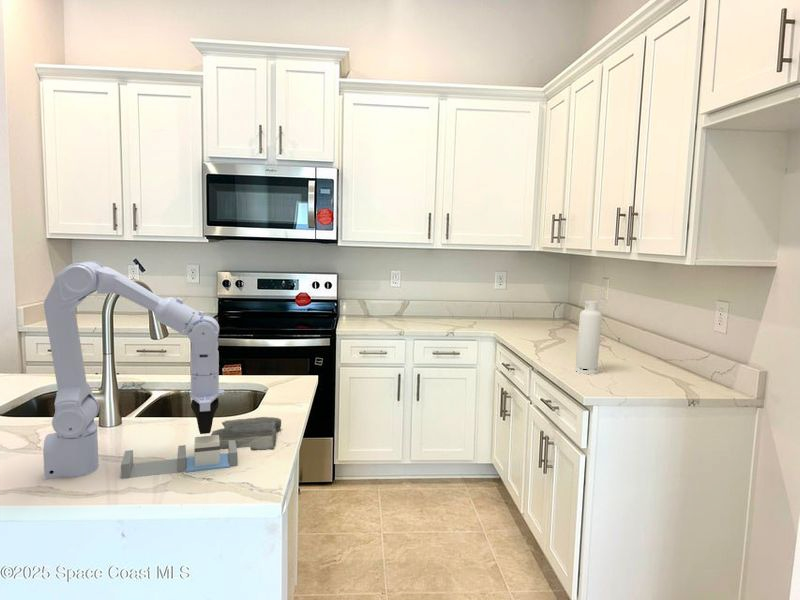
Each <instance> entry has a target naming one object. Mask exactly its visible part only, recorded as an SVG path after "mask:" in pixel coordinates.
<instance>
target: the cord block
mask: <svg viewBox="0 0 800 600" xmlns="http://www.w3.org/2000/svg"><path fill="white" fill-rule="evenodd" d="M220 450H221V448H220V441H219V435H213V436H211V435H205V436H202V435H201V436H194V457H195V466H204V465H213V464H220V454H221V451H220Z"/></svg>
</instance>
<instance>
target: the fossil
mask: <svg viewBox="0 0 800 600" xmlns="http://www.w3.org/2000/svg"><path fill="white" fill-rule="evenodd" d="M221 424H222V426H223V427H224V428H220V429H216V430H213V431H212V433H210V436H213V435H219V441H220V449H228V441H232V440H235V442H236V448H250V451H267V450H266V449H270V450H274V449H275V447H276V443H277V442H276V441H277V433H278V432H280V431H281V428H282V419H281V418H279V417H271V416H270V417H269V416H260V417H258V416H257V417H254V418H253V417H251V418H250V417H249V418H237V419H230V420H224V421H222V422H221Z"/></svg>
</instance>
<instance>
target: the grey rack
mask: <svg viewBox="0 0 800 600" xmlns="http://www.w3.org/2000/svg"><path fill="white" fill-rule="evenodd" d="M186 448H187V445H186V444H183V445H182V444H181V445H178V448H177V458H172V459H163V460H153V461H144V462H143V461H142V462H134V449H133V450H132V449H131V450H130V449H129V450H125V451H124V454H123V456H122V460H121V462H120V463H121V464H120V474H121V475H120V479H122V480H123V479H124V480H125V479H133V478H140V477H141V478H142V477H150V476H159V475H169V474H175V473H176V474H177V473H196V472H202V471H203V472H204V471H211V470H221V469H230V468H231V467H238V449H237V448H236V442H235V440H232V441H228V448H227V450H228V453H226V452H225V453H220V464H213V465H204V466H195V456H188V457H187V451H186V450H187V449H186Z"/></svg>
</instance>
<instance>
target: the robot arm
mask: <svg viewBox="0 0 800 600" xmlns="http://www.w3.org/2000/svg"><path fill="white" fill-rule="evenodd" d="M95 292H96V295H97V294H98V295H100V294H101V295H105V294H107V295H109V294H116V295H119V296H120V297H123V298H125V300H129V301H130V302H133V303H134V304H136V305H138V306H140V307H143V308H145V309H146V310H149V311H151V312H152V313H153V314H154V318H155V320H156V321H157V322H159V323H160V324H162V325H163V326H166V327H168V328H169V329H172V330H174V332H177V333H179V334H181V335H183V336H188V339H189V341H190V342H191V350H190V392H189V397H190V398H191V399H192V400H191V401H190V408H191V410H192V412H193V414H194V415H195V418H196V421H197V422H196V423H197V428H198V431H199V434H200V435H209V434H211V431H212V427H213V422H214V417H215V413H216V411H217V409H218V408H219V405H220V404H219V397H220V396H224V395H225V390H224V389H220V388H219V387H220V386H219V385H220V384H219V383H220V379H219V378H220V375H219V374H220V370H219V369H220V364H219V362H220V355H219V354H220V353H219V350H218V349H219V342H218V339H219V335H220V325H219V323H218V321H217V320H216V319H215V317H213V316H212V315H211V314H205V312H204V311H202V310H196V309H194V308H192V307H190V306H189V305H187V304H186V303H184V299H182V298H181V297H177V298H174V297H173V296H170V297H166V298H162V297H160V296H159V295H157V294H155V293H153V292H152V291H150V290H149V289H147V288H145V287H144V286H142V285H141V284H139V283H137V282H135V281H133V280H132V279H130V278H129V277H128V276H126V275H124V274H122V273H121V272H118V271H117V270H115V269H113V268H111V267H108V266H104V265H102V263H100V262H99V261H94V260H84V261H81V262H78V263H71V264H69V265H67V266H65V267H64V268H63V269H62V270H61V271H59V272H58V273H57V274H56V275H54V280H53V283H52V285H51V287H50V289H49V291H48V293H47V295H46V297H45V299H44V301H43V309H44V315H45V321H46V327H47V333H48V339H49V345H50V352H51V357H52V363H53V370H54V375H55V381H56V386H57V388H56V389H57V392H56V397H55V399H54V409H55V410H54V411H55V412H54V415H53V418H52V420H51V424H52V428H53V431H54V433H47V434H46V435H45V437H44V440H43V448H42V449H43V450H42V451H43V471H44V472H43V476H44V477H43V478H44V480H43V482H45V481H46V480H47V479H48V480H49V479H58V478H77V477H82V476H86V475H88V474H92V473H94V472H95V471H97V470H98V469H99V467H100V463H99V438H98V425H97V424H96V422H95V418H96V417H97V416H98V414H99V412H100V404H99V401H98V400H97V399H96V398H95V395H94V394H93V391H92V387H91V386H90V385H89V383H88V382H87V377H86V371H85V366H84V365H85V363H84V358H83V352H82V351H83V350H82V345H81V339H80V333H79V325H78V319H77V313H76V308H77V307H78V306H79V305H80V304H81V303H82V302H83V301H84V300H85V299H86V298H87V297H88V296H89V295H91V294H93V293H95ZM51 471H53V472H51Z"/></svg>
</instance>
